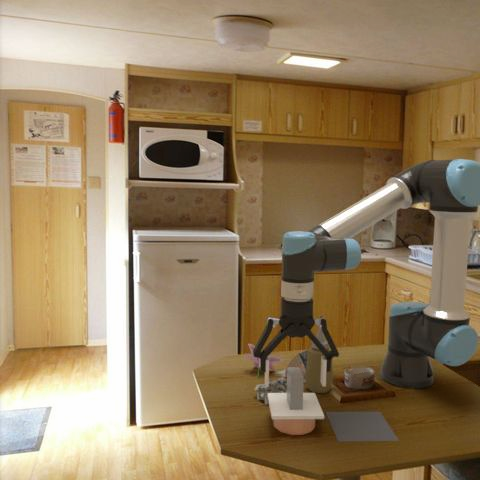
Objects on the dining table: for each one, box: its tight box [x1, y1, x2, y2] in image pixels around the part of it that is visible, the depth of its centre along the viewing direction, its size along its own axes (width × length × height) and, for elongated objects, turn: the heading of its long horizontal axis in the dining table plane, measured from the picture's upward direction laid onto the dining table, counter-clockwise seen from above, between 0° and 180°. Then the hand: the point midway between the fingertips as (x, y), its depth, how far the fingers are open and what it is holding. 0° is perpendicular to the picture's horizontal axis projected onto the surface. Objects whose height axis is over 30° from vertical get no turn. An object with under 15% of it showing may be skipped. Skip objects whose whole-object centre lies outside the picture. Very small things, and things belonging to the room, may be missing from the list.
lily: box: [242, 343, 285, 380], centre depth 152 cm, size 12×12×10 cm
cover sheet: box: [267, 366, 325, 420], centre depth 120 cm, size 12×12×9 cm
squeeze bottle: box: [304, 327, 334, 394], centre depth 140 cm, size 8×8×18 cm
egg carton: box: [254, 376, 287, 406], centre depth 137 cm, size 11×8×4 cm
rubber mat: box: [325, 411, 400, 443], centre depth 121 cm, size 14×14×1 cm
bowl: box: [272, 419, 316, 436], centre depth 121 cm, size 10×10×5 cm
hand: (294, 384), depth 120 cm, fingers open, 13 cm apart
